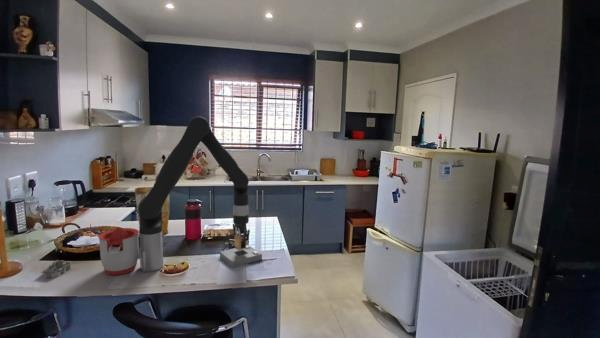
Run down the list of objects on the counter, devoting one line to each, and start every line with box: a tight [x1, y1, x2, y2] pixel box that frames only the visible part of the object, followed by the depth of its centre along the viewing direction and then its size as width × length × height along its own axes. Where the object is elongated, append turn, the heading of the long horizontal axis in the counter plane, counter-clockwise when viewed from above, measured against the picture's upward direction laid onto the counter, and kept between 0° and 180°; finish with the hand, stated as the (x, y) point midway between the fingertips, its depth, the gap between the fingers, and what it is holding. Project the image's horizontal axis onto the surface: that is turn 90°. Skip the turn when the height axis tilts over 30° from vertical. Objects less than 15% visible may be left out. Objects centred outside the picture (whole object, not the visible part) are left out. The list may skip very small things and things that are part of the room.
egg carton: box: [40, 259, 73, 279], centre depth 140 cm, size 11×8×4 cm
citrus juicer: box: [98, 226, 140, 276], centre depth 142 cm, size 16×17×20 cm
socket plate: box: [219, 244, 263, 269], centre depth 159 cm, size 16×14×4 cm
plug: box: [233, 236, 249, 251], centre depth 158 cm, size 5×4×7 cm
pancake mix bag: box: [134, 186, 171, 235], centre depth 189 cm, size 7×19×28 cm, turn 104°
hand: (240, 246), depth 159 cm, fingers closed on plug, 4 cm apart
